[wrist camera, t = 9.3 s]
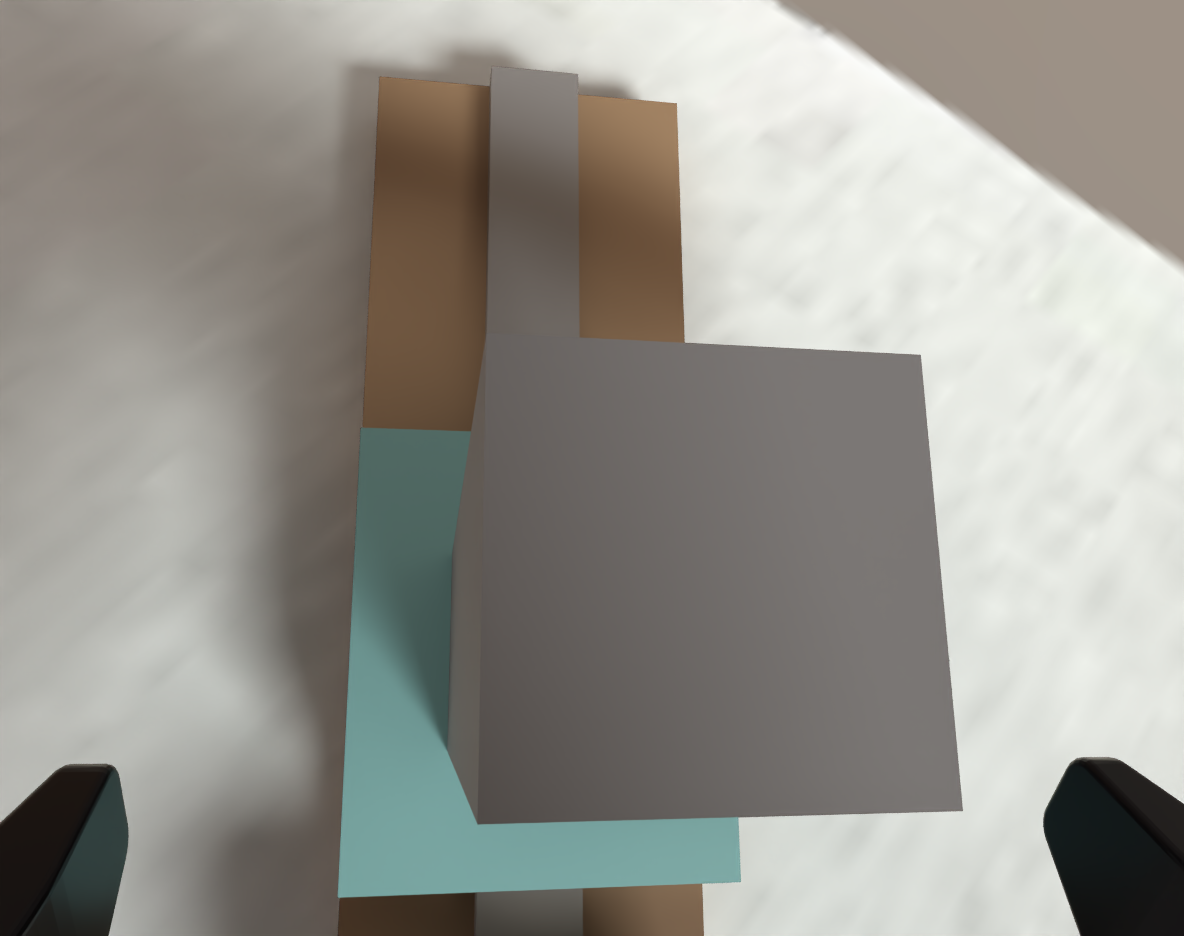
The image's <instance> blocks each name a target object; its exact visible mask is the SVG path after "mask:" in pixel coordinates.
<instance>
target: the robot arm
mask: <svg viewBox="0 0 1184 936" xmlns="http://www.w3.org/2000/svg"><path fill="white" fill-rule="evenodd" d="M1043 827H1044V833H1045V837H1046V841H1047V843H1048V846H1049V849H1050V852H1051V855H1052V857H1053V860H1054V863H1055V866H1056V869H1057V871H1058V874H1059V877H1060V880H1061V883H1062V886H1063V888H1064V891H1065V894H1066V897H1067V900H1068V902H1069V905H1070V908H1071V911H1072V914H1073V916H1074V919H1075V922H1076V925H1077V928H1078V930H1079V933H1080V936H1184V804H1183V803H1182V802H1180V801H1179V800H1177V799H1176V798H1174V797H1173V796H1172V795H1170V794H1169V793H1167V792H1166V791H1164V790H1163V789H1161V788H1160V787H1159V786H1157V785H1156V784H1154V783H1153V782H1151V781H1150V780H1149V779H1147V778H1146V777H1144V776H1143V775H1141V774H1140V773H1138V772H1137V771H1136V770H1134V769H1133V768H1131V767H1130V766H1128V765H1127V764H1125V763H1124V762H1122V761H1120V760H1118V759H1115V758H1111V757H1081V758H1077V759H1075V760H1074V761H1072V762H1071V763H1070V764H1069V766H1068V767H1067V769H1066V771H1065V773H1064V775H1063V776H1062V778H1061V780H1060V782H1059V784H1058V786H1057V788H1056V790H1055V792H1054V794H1053V796H1052V798H1051V800H1050V801H1049V803H1048V805H1047V807H1046V810H1045V812H1044V818H1043ZM128 837H129V835H128V823H127V817H126V812H125V806H124V800H123V795H122V789H121V783H120V778H119V774H118V772H117V770H116V768H115V767H114V766H112V765H108V764H69V765H65V766H63V767H61V768H59V769H58V770H56V771H55V772H54V773H53V774H52V775H51V776H50V777H49V778H48V779H46V780H45V781H44V782H43V783H42V784H41V785H40V786H39V787H38V788H37V789H36V790H35V791H34V792H33V793H32V794H30V795H29V796H28V797H27V798H26V799H25V800H24V801H23V802H22V803H21V804H20V805H19V806H18V807H17V808H16V809H15V810H13V811H12V812H11V813H10V814H9V815H8V816H7V817H6V818H5V819H4V820H3V821H2V822H1V823H0V936H108V935H109V931H110V927H111V922H112V918H113V913H114V909H115V904H116V900H117V895H118V891H119V886H120V882H121V878H122V873H123V869H124V864H125V860H126V855H127V848H128Z"/></svg>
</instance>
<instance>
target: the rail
mask: <svg viewBox="0 0 1184 936" xmlns="http://www.w3.org/2000/svg"><path fill="white" fill-rule="evenodd" d="M486 333H502V334H522V335H541V336H561V337H580V338H600V339H619V340H639V341H658V342H678V343H685V342H684V311H683V281H682V250H681V219H680V188H679V158H678V127H677V103H666V102H655V101H644V100H633V99H622V98H611V97H600V96H589V95H578V74H572V73H562V72H551V71H540V70H530V69H519V68H509V67H498V66H492V68H491V78H490V86H479V85H468V84H457V83H446V82H435V81H424V80H413V79H402V78H391V77H380V78H379V98H378V119H377V140H376V160H375V181H374V201H373V222H372V243H371V263H370V284H369V304H368V325H367V346H366V366H365V387H364V407H363V428H387V429H415V430H444V431H471V428H472V422H473V416H474V409H475V403H476V396H477V390H478V383H479V377H480V371H481V364H482V358H483V351H484V345H485V338H486ZM338 936H704V926H703V895H702V884H678V885H652V886H626V887H601V888H575V889H549V890H523V891H497V892H471V893H446V894H420V895H394V896H368V897H342V898H340V902H339V923H338Z"/></svg>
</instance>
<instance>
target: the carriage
mask: <svg viewBox="0 0 1184 936" xmlns="http://www.w3.org/2000/svg"><path fill="white" fill-rule="evenodd" d="M945 811H963V807H962V796H961V785H960V775H959V764H958V753H957V742H956V731H955V721H954V710H953V699H952V688H951V677H950V667H949V656H948V645H947V634H946V623H945V612H944V602H943V591H942V580H941V569H940V558H939V548H938V537H937V526H936V515H935V504H934V494H933V483H932V472H931V461H930V450H929V439H928V429H927V418H926V407H925V396H924V385H923V375H922V364H921V355H912V354H892V353H873V352H853V351H834V350H814V349H795V348H775V347H756V346H736V345H717V344H697V343H678V342H658V341H639V340H619V339H600V338H580V337H561V336H541V335H522V334H502V333H486V338H485V345H484V351H483V358H482V364H481V371H480V377H479V383H478V390H477V396H476V403H475V409H474V416H473V422H472V428H471V431H444V430H415V429H387V428H361V431H360V451H359V472H358V492H357V512H356V533H355V553H354V574H353V594H352V615H351V635H350V655H349V676H348V696H347V717H346V737H345V757H344V778H343V798H342V819H341V839H340V859H339V880H338V898H342V897H368V896H394V895H420V894H446V893H471V892H497V891H523V890H549V889H575V888H601V887H626V886H652V885H678V884H704V883H730V882H741V874H740V849H739V825H738V817H766V816H802V815H838V814H874V813H909V812H945Z"/></svg>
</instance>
